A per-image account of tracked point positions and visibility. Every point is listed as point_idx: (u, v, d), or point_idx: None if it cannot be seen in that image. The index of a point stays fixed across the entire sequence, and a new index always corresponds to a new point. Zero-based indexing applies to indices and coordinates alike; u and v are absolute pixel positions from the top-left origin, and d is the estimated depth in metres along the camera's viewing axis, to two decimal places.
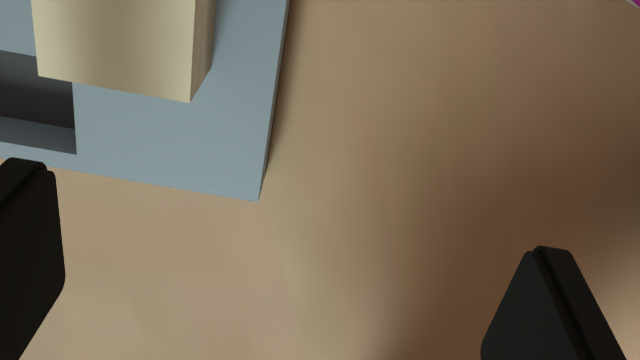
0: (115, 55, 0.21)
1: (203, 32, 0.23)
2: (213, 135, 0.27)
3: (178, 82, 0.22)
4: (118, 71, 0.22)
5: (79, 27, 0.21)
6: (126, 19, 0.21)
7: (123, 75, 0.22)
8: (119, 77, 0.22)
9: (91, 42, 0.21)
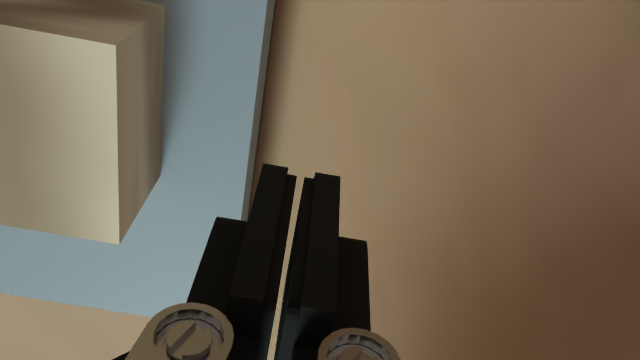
0: (11, 186, 0.15)
1: (140, 145, 0.17)
2: (167, 253, 0.21)
3: (102, 220, 0.16)
4: (18, 205, 0.16)
5: None
6: (22, 141, 0.15)
7: (25, 210, 0.16)
8: (20, 213, 0.16)
9: None
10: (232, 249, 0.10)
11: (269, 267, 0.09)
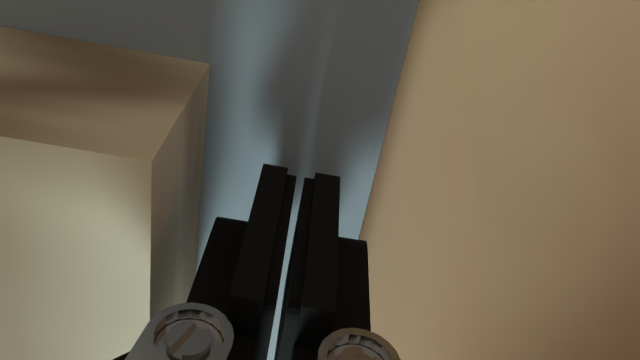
0: None
1: (175, 267, 0.11)
2: None
3: None
4: None
5: None
6: (4, 290, 0.10)
7: None
8: None
9: None
10: (232, 249, 0.10)
11: (269, 267, 0.09)
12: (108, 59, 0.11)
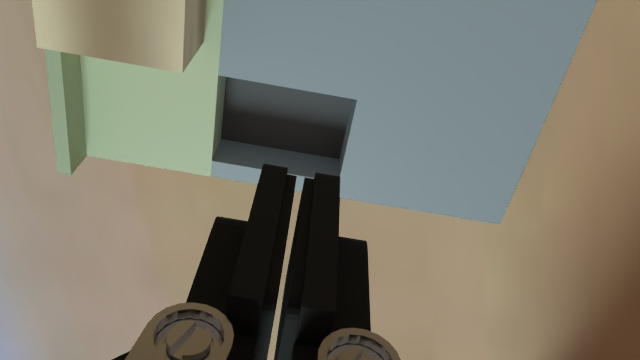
0: (110, 26, 0.22)
1: (195, 5, 0.23)
2: (474, 164, 0.29)
3: (171, 53, 0.23)
4: (113, 42, 0.23)
5: None
6: None
7: (118, 46, 0.23)
8: (114, 48, 0.23)
9: (87, 13, 0.22)
10: (232, 249, 0.10)
11: (269, 267, 0.09)
12: None
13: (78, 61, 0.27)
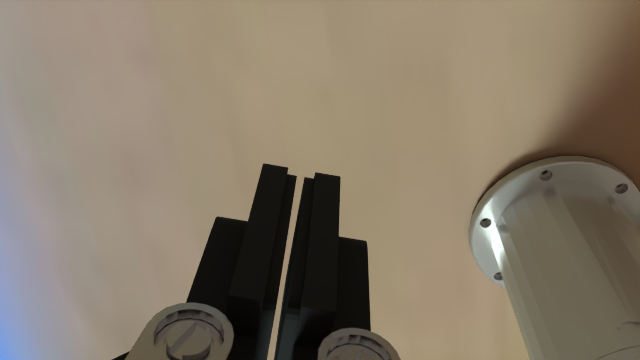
0: None
1: None
2: None
3: None
4: None
5: None
6: None
7: None
8: None
9: None
10: (231, 249, 0.10)
11: (269, 267, 0.09)
12: None
13: None
